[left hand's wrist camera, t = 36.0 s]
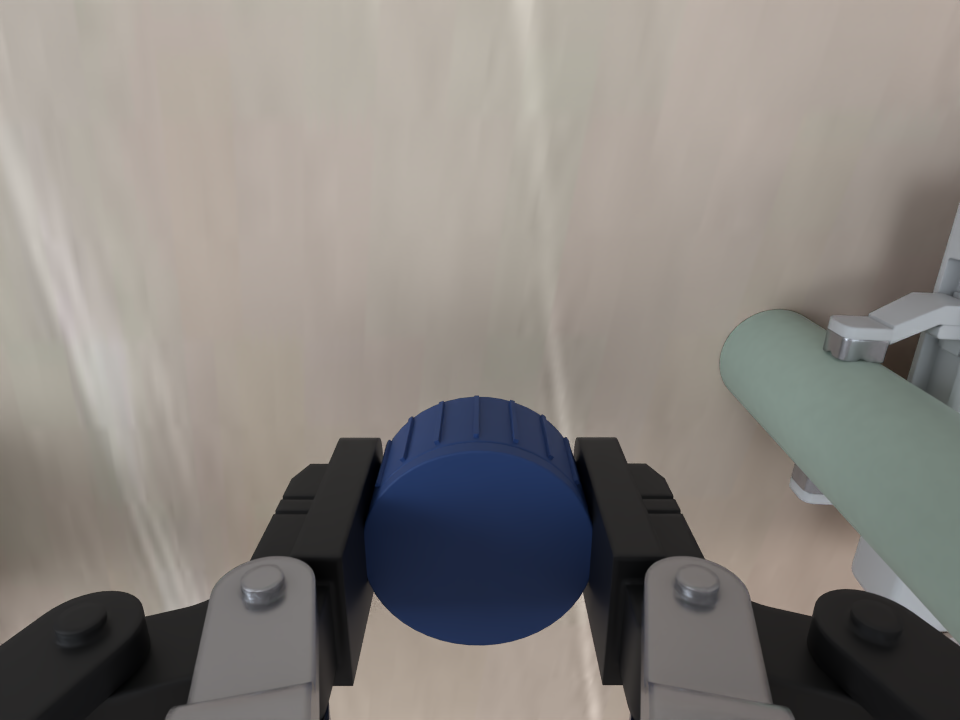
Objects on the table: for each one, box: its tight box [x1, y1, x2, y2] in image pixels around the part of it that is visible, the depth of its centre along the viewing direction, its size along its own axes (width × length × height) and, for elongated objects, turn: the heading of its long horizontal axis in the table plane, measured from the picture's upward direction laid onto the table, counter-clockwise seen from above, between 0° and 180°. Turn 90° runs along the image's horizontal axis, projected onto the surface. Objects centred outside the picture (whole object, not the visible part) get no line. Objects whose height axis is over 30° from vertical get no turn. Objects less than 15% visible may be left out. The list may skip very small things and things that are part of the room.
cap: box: [364, 396, 593, 645], centre depth 11 cm, size 4×4×2 cm
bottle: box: [720, 310, 960, 644], centre depth 23 cm, size 5×5×25 cm
